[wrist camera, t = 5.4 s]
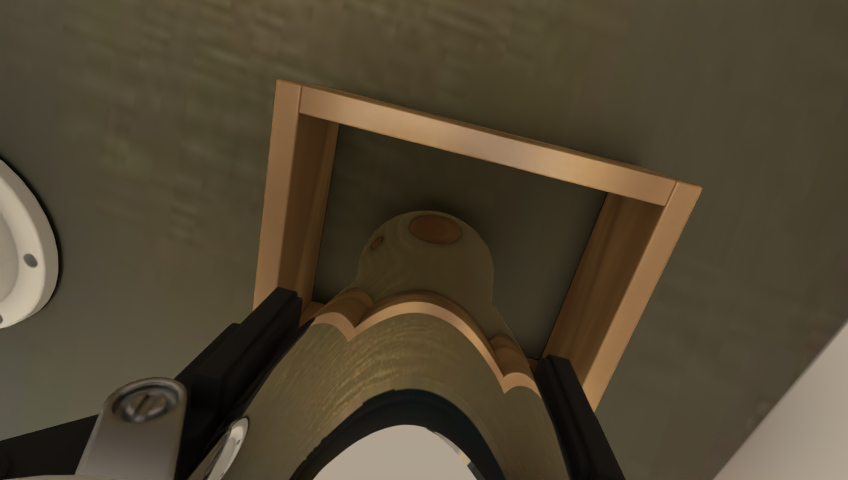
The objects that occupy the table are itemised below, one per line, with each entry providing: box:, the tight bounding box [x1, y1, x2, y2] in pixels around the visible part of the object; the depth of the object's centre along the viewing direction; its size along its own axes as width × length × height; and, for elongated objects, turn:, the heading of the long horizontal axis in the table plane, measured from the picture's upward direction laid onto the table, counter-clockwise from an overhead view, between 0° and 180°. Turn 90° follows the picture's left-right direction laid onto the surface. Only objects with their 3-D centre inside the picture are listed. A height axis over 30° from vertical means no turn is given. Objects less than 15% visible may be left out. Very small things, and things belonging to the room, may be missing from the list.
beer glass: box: [182, 210, 576, 480], centre depth 11 cm, size 7×7×15 cm
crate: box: [252, 79, 702, 412], centre depth 19 cm, size 16×13×6 cm
